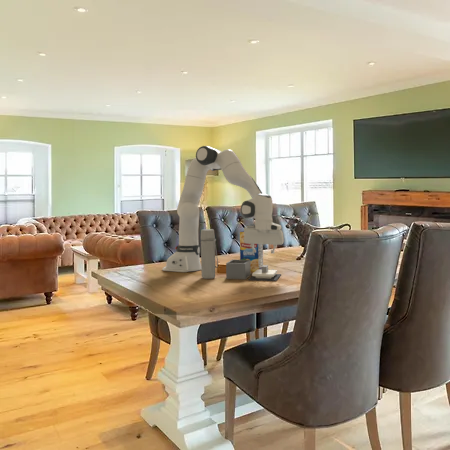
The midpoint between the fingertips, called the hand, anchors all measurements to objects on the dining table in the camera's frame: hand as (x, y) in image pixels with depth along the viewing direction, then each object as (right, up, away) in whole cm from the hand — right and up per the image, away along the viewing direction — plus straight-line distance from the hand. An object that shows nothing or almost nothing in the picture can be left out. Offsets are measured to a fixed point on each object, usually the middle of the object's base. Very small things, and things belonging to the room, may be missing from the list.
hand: (263, 252), depth 240 cm
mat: (+1, -13, +2) cm, 13 cm away
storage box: (-12, -13, +5) cm, 19 cm away
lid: (+1, -12, +2) cm, 12 cm away
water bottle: (-27, -13, +4) cm, 31 cm away
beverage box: (-5, -11, +22) cm, 25 cm away
